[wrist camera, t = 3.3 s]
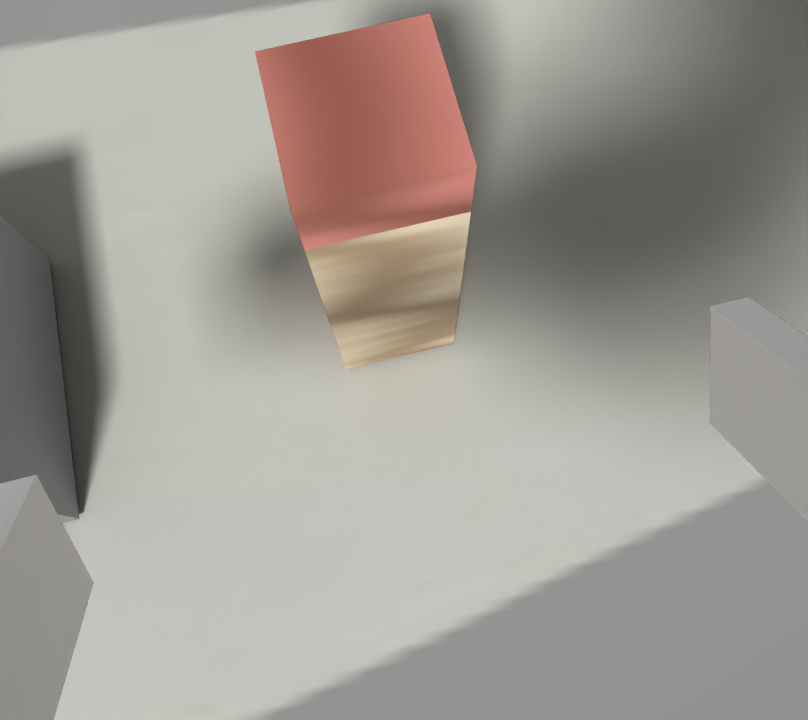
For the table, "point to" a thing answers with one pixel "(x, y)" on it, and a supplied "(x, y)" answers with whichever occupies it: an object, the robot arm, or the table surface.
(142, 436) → the table surface
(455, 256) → the plug peg
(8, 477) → the socket block
